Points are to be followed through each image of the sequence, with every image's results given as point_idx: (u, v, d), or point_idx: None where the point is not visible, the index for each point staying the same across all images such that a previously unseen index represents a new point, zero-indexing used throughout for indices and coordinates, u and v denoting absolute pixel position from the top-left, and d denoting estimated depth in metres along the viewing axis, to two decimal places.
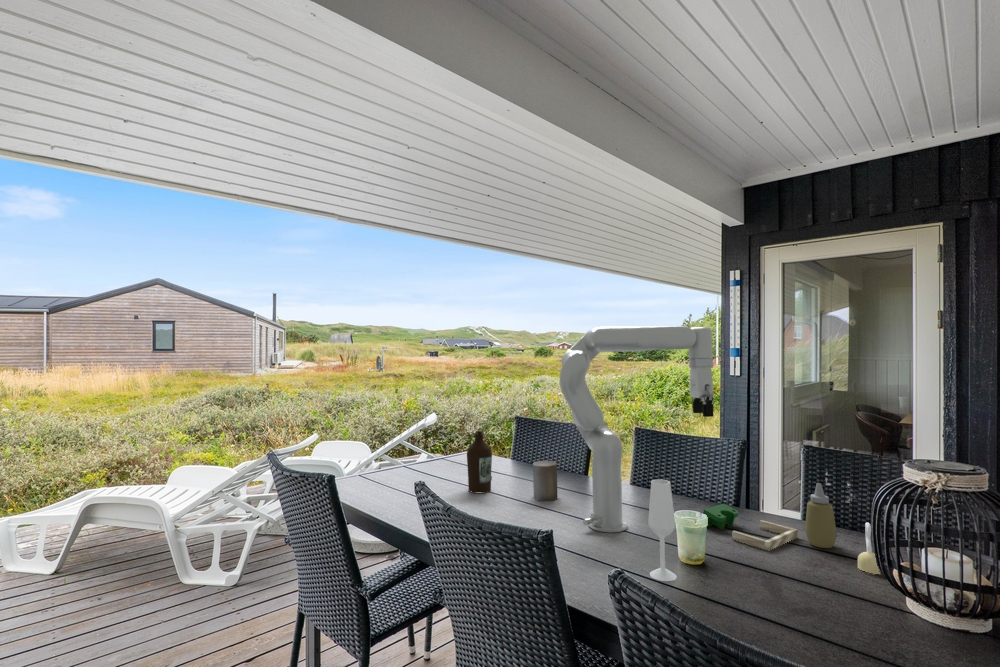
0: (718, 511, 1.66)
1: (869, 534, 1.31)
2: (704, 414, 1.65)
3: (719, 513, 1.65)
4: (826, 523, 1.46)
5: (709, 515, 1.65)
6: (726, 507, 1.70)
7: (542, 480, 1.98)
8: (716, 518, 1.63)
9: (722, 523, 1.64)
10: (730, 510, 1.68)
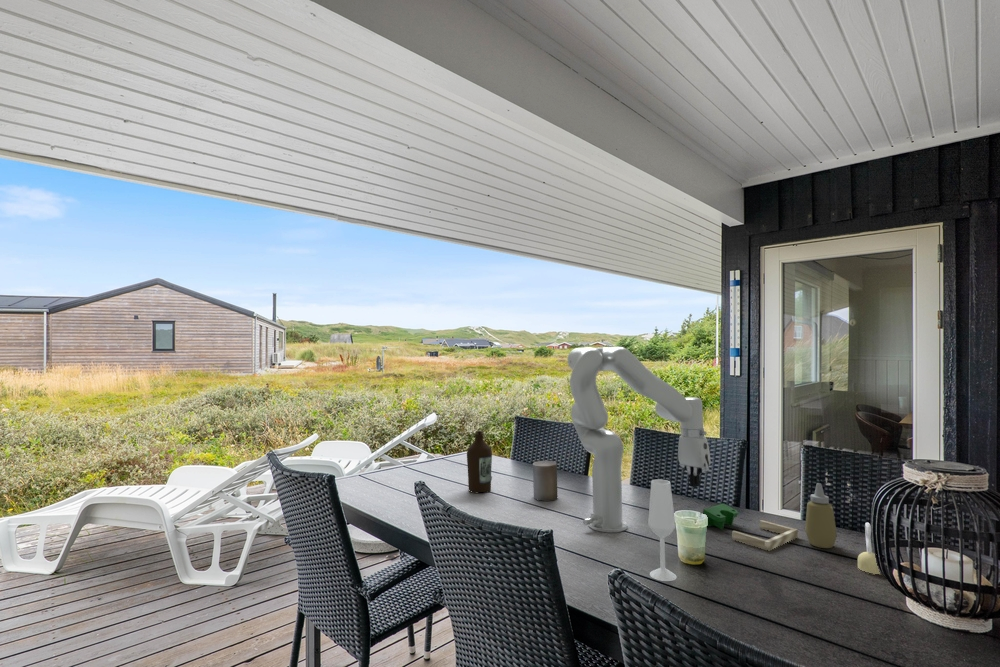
0: (717, 511, 1.66)
1: (869, 534, 1.31)
2: None
3: (718, 513, 1.65)
4: (826, 523, 1.46)
5: (708, 515, 1.65)
6: (725, 507, 1.70)
7: (542, 480, 1.98)
8: (715, 518, 1.63)
9: (721, 523, 1.64)
10: (729, 510, 1.68)
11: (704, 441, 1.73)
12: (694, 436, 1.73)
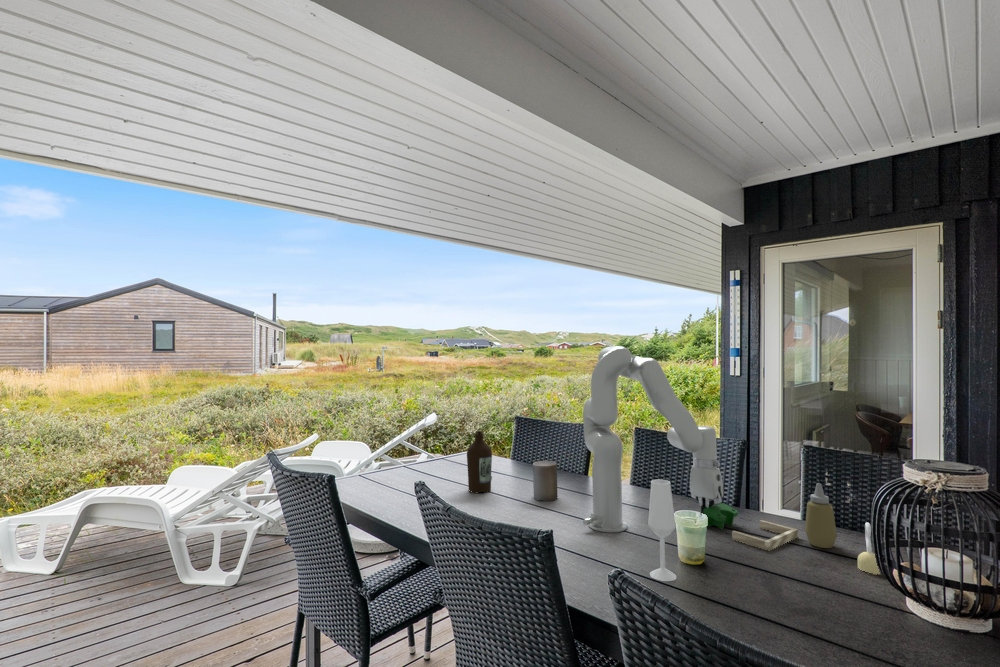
0: (717, 510, 1.66)
1: (869, 534, 1.31)
2: None
3: (719, 513, 1.65)
4: (826, 523, 1.46)
5: (709, 515, 1.65)
6: (725, 506, 1.70)
7: (542, 480, 1.98)
8: (716, 518, 1.63)
9: (722, 522, 1.64)
10: (729, 509, 1.68)
11: (717, 472, 1.68)
12: (707, 467, 1.69)
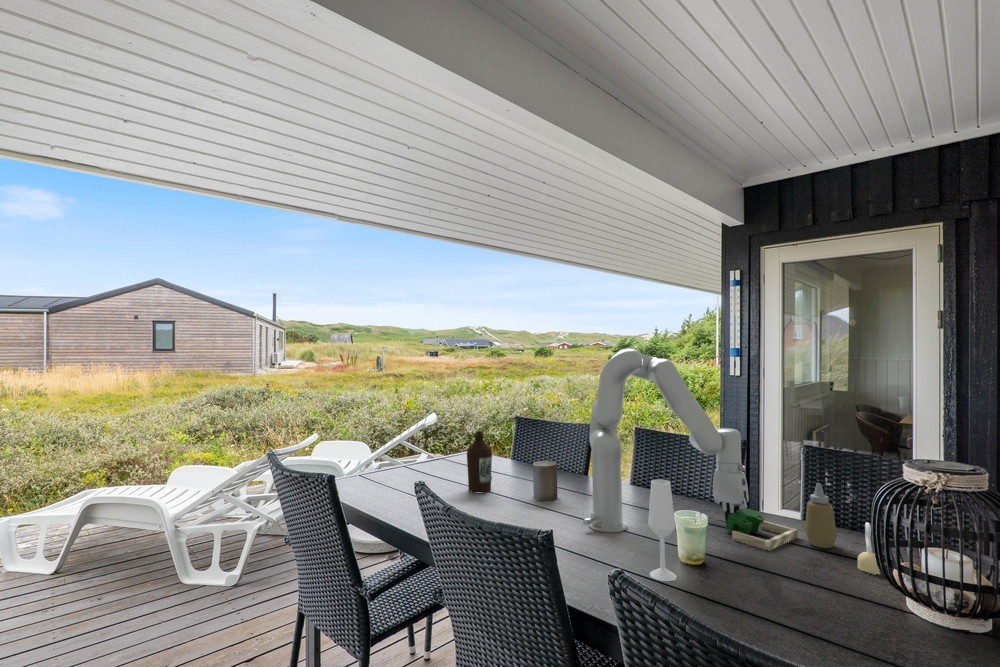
0: (743, 517, 1.59)
1: (869, 534, 1.31)
2: None
3: (744, 519, 1.58)
4: (826, 523, 1.46)
5: (734, 521, 1.58)
6: (751, 512, 1.63)
7: (542, 480, 1.98)
8: (742, 524, 1.56)
9: (747, 529, 1.57)
10: (755, 516, 1.61)
11: (742, 477, 1.62)
12: (732, 471, 1.62)
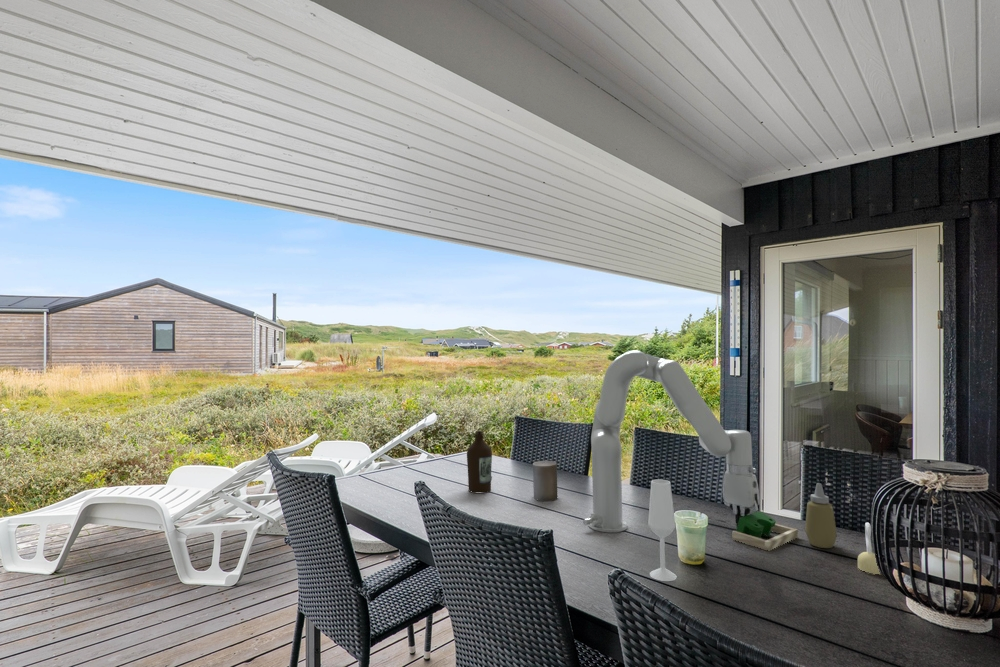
0: (754, 520, 1.56)
1: (869, 534, 1.31)
2: None
3: (756, 522, 1.55)
4: (826, 523, 1.46)
5: (745, 524, 1.55)
6: (762, 515, 1.60)
7: (542, 480, 1.98)
8: (753, 528, 1.53)
9: (759, 533, 1.54)
10: (767, 519, 1.58)
11: (753, 479, 1.59)
12: (742, 473, 1.59)
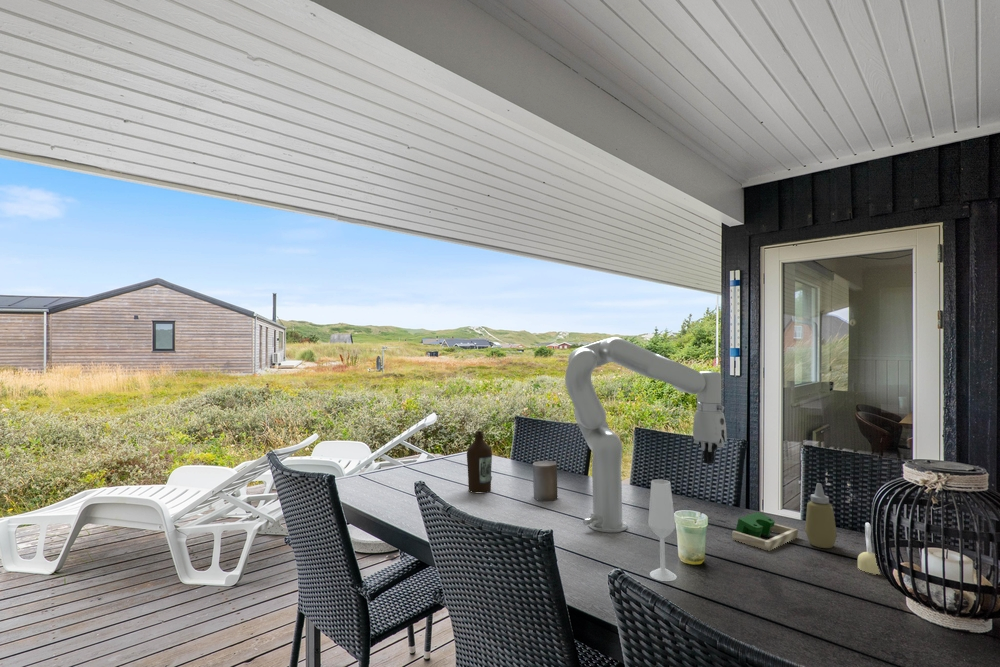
0: (753, 520, 1.57)
1: (869, 534, 1.31)
2: None
3: (755, 522, 1.55)
4: (826, 523, 1.46)
5: (744, 525, 1.55)
6: (761, 516, 1.60)
7: (542, 480, 1.98)
8: (752, 528, 1.53)
9: (758, 533, 1.54)
10: (766, 519, 1.59)
11: (721, 416, 1.66)
12: (711, 410, 1.66)
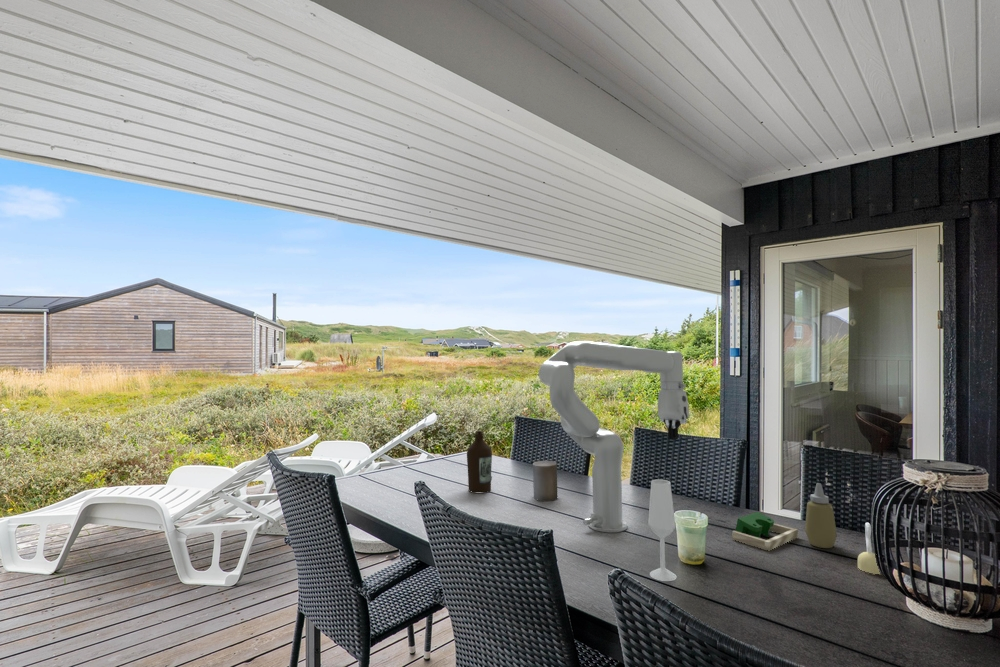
0: (752, 520, 1.57)
1: (869, 534, 1.31)
2: None
3: (754, 522, 1.56)
4: (826, 523, 1.46)
5: (744, 524, 1.55)
6: (760, 516, 1.60)
7: (542, 480, 1.98)
8: (752, 528, 1.53)
9: (758, 533, 1.55)
10: (765, 519, 1.59)
11: (683, 394, 1.74)
12: (673, 388, 1.74)
